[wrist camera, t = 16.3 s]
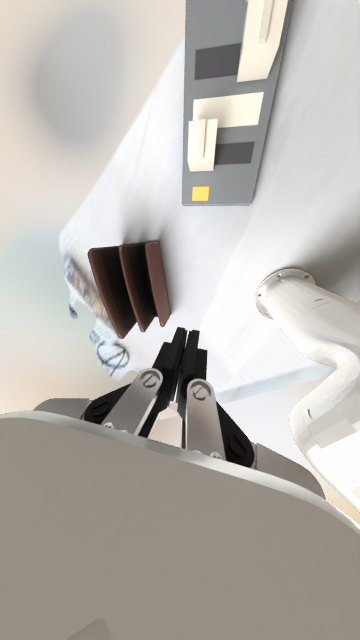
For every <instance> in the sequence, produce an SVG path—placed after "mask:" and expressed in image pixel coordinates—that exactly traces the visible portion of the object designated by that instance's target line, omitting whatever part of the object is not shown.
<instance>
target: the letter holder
mask: <svg viewBox="0 0 360 640" xmlns="http://www.w3.org/2000/svg"><path fill="white" fill-rule="evenodd" d="M88 258H89V262H90V265H91V269H92V272H93V276H94V279H95V282H96V285H97V288H98V291H99V294H100V296H101V299H102V302H103V304H104V307H105V309H106V311H107V314H108V316H109V318H110V321H111V323H112V325H113V327H114V329H115V331H116V333H117V335H118V337H119V338H120V339H124V338H125V336H126V335H127V334H128V332H129V331H130V330H131V329H132V327H133V326H134V325H135V324H136V322H138V325H139V328H140V330H141V332H145V331H146V329H147V328H148V326H149V325H150V323H151V322H152V320H153V319H154V317H158V318H159V322H160V325H161V327H164V326H165V324H166V322H167V320H168V319H169V317H170V309H169V302H168V296H167V289H166V283H165V276H164V270H163V263H162V257H161V251H160V244H159V241H152V242H146V243H138V244H126V245H120V246H113V247H102V248H91V249H90V250H89V252H88Z"/></svg>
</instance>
